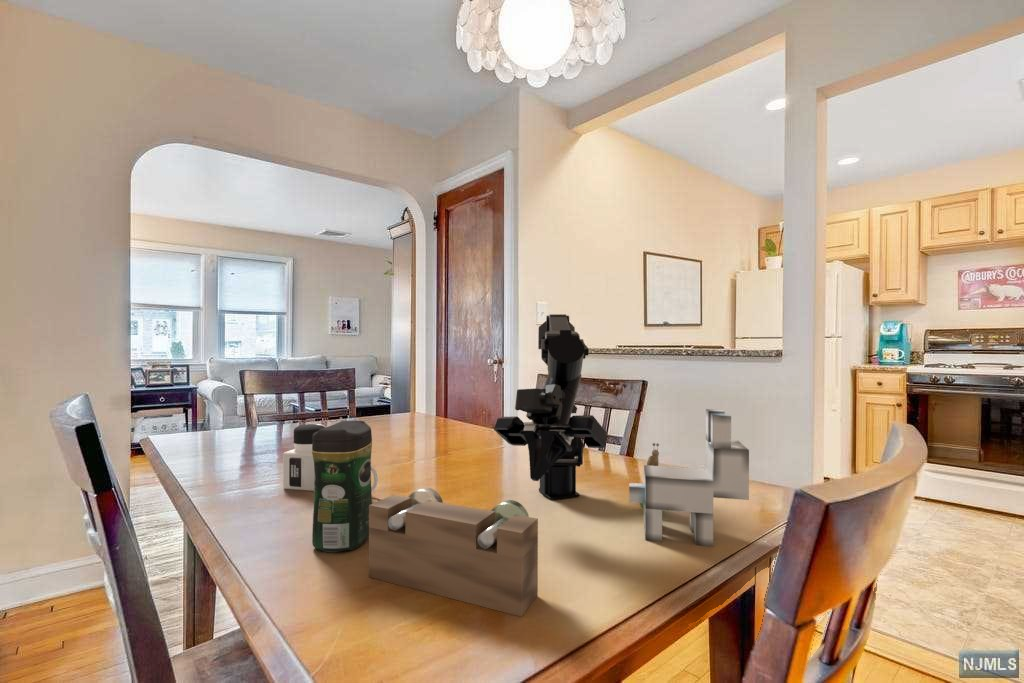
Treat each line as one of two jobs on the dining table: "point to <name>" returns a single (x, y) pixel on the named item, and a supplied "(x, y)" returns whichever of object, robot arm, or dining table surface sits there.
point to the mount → (455, 553)
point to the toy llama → (696, 483)
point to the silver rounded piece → (414, 505)
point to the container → (300, 459)
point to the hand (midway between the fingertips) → (533, 479)
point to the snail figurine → (652, 462)
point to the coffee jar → (341, 485)
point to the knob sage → (500, 521)
